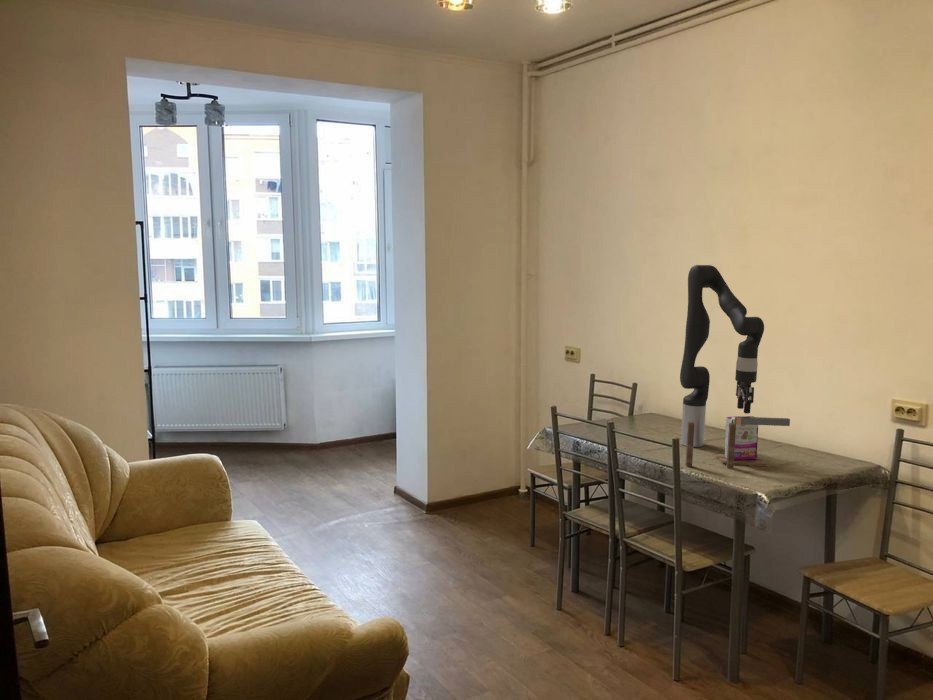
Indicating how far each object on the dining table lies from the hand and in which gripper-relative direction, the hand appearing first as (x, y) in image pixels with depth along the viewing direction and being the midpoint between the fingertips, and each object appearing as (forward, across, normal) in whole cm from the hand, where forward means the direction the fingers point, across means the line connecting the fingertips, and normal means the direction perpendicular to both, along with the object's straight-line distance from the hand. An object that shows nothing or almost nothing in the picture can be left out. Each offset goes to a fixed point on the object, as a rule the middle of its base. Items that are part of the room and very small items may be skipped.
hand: (743, 410), depth 273 cm
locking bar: (+3, -10, -4) cm, 11 cm away
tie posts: (+20, -10, +14) cm, 26 cm away
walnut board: (+20, 0, 0) cm, 20 cm away
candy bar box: (+19, 0, 0) cm, 19 cm away
